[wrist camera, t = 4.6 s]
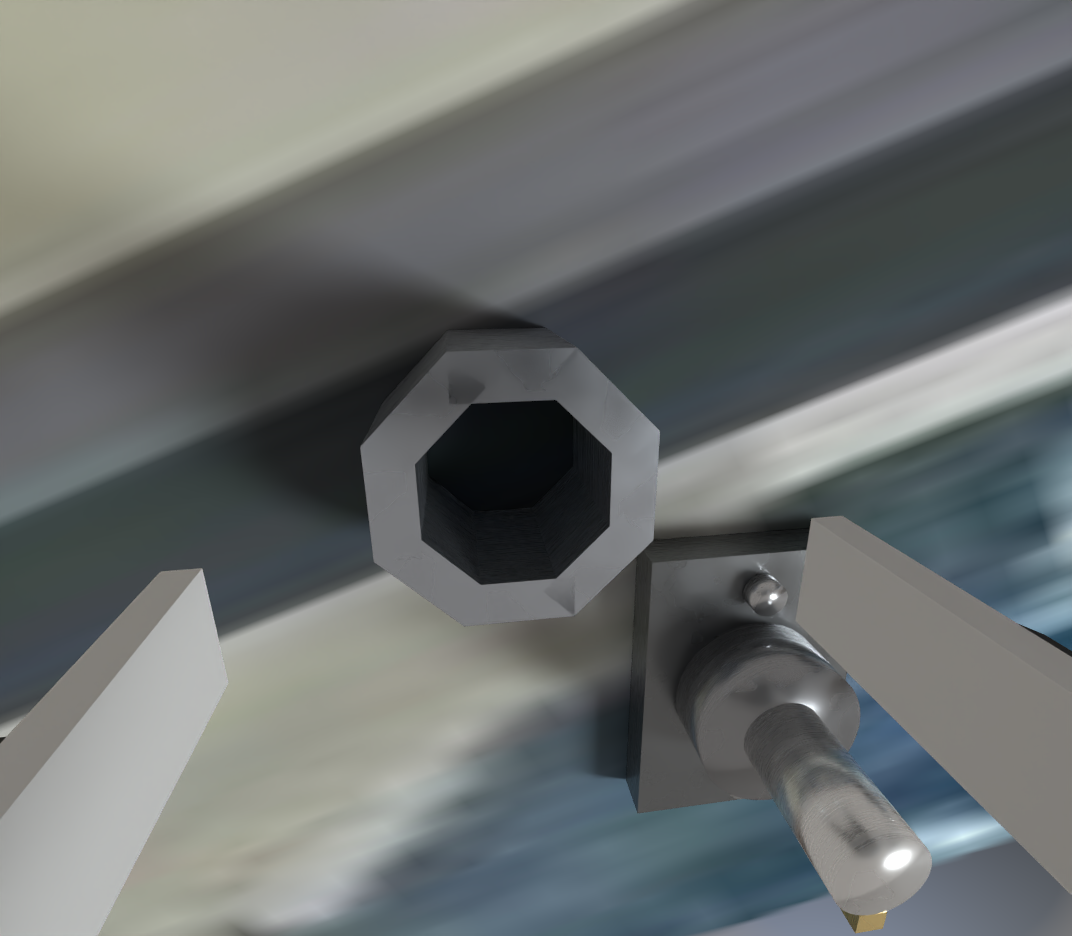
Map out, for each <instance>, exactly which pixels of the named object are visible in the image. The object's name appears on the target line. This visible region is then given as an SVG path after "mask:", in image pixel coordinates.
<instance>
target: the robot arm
mask: <svg viewBox="0 0 1072 936" xmlns="http://www.w3.org/2000/svg"><path fill="white" fill-rule="evenodd" d="M796 622H797V623H798V624H799V625H800V626H801V627H802V628H803V629H804V630H805V631H806V632H807V633H808V634H809V635H810V636H811V637H812V638H813V639H814V640H815V641H816V642H817V643H818V644H819V645H820V646H821V647H822V648H823V649H824V650H825V651H826V652H827V653H828V654H829V655H830V656H831V657H832V658H833V659H834V660H835V661H836V662H837V663H838V664H839V665H840V666H841V667H842V668H843V669H844V670H845V671H846V672H847V673H848V674H849V675H850V676H851V677H852V678H853V679H854V680H855V681H856V682H857V683H858V684H859V685H860V686H861V687H862V688H864V689H865V690H866V691H867V692H868V693H869V694H870V695H871V696H872V697H873V698H874V699H875V700H876V701H877V702H878V703H879V704H880V705H881V706H882V707H883V708H884V709H885V710H886V711H887V712H888V713H889V714H890V715H891V716H892V717H893V718H894V719H895V720H896V721H897V722H898V723H899V724H900V725H901V726H902V727H903V728H904V729H905V730H906V731H907V732H908V733H909V734H910V735H911V736H912V737H913V738H914V739H915V740H916V741H917V742H918V743H919V744H920V745H921V746H922V747H923V748H924V749H925V750H926V751H927V752H928V753H929V754H930V755H931V756H932V757H933V758H934V759H935V760H936V761H937V762H938V763H939V764H940V765H941V766H942V767H943V768H944V769H945V770H946V771H947V772H948V773H949V774H950V775H951V776H952V777H953V778H954V779H955V780H956V781H957V782H958V783H959V784H960V785H961V786H962V787H963V788H964V789H965V790H966V791H967V792H968V793H969V794H970V795H971V796H972V797H973V798H974V799H975V800H976V801H977V802H978V803H979V804H980V805H981V806H982V807H983V808H984V809H985V810H986V811H987V812H988V813H989V814H990V815H991V816H992V817H993V818H994V819H995V820H996V821H997V822H998V823H999V824H1000V825H1001V826H1003V827H1004V828H1005V829H1006V830H1007V831H1008V832H1009V833H1010V834H1011V835H1012V836H1013V837H1014V838H1015V839H1016V840H1017V841H1018V842H1019V843H1020V844H1021V845H1022V846H1023V847H1024V848H1025V849H1026V850H1027V851H1028V852H1029V853H1030V854H1031V855H1032V856H1033V857H1034V858H1035V859H1036V860H1037V861H1038V862H1039V863H1040V864H1041V865H1042V866H1043V867H1044V868H1045V869H1046V870H1047V871H1048V872H1049V873H1050V874H1051V875H1052V876H1053V877H1054V878H1055V879H1056V880H1057V881H1058V882H1059V883H1060V884H1061V885H1062V886H1063V887H1064V888H1065V889H1066V890H1067V891H1068V892H1069V893H1070V894H1071V895H1072V651H1071V650H1069V649H1067V648H1066V647H1064V646H1062V645H1061V644H1059V643H1057V642H1056V641H1054V640H1052V639H1051V638H1049V637H1047V636H1046V635H1044V634H1041V633H1039V632H1037V631H1034V630H1032V629H1029V628H1027V627H1025V626H1022V625H1020V624H1017V623H1015V622H1014V621H1012V620H1011V619H1009V618H1007V617H1006V616H1004V615H1002V614H1001V613H999V612H998V611H996V610H994V609H993V608H991V607H989V606H988V605H986V604H985V603H983V602H981V601H980V600H978V599H976V598H975V597H973V596H971V595H970V594H968V593H967V592H965V591H963V590H962V589H960V588H958V587H957V586H955V585H954V584H952V583H950V582H949V581H947V580H945V579H944V578H942V577H941V576H939V575H937V574H936V573H934V572H932V571H931V570H929V569H928V568H926V567H924V566H923V565H921V564H919V563H918V562H916V561H915V560H913V559H911V558H910V557H908V556H906V555H905V554H903V553H902V552H900V551H898V550H897V549H895V548H893V547H892V546H890V545H889V544H887V543H885V542H884V541H882V540H880V539H879V538H877V537H876V536H874V535H872V534H871V533H869V532H867V531H866V530H864V529H862V528H861V527H859V526H858V525H856V524H854V523H853V522H851V521H849V520H848V519H846V518H845V517H843V516H833V517H821V518H811V524H810V531H809V537H808V544H807V550H806V556H805V563H804V569H803V576H802V582H801V589H800V595H799V602H798V608H797V614H796ZM227 685H228V678H227V674H226V670H225V665H224V661H223V657H222V652H221V648H220V644H219V639H218V635H217V631H216V626H215V622H214V618H213V613H212V609H211V604H210V600H209V596H208V591H207V587H206V583H205V578H204V574H203V570H202V568H200V569H188V570H176V571H164V572H160V573H159V574H158V575H157V576H156V577H155V578H154V579H153V580H152V581H151V583H150V584H149V585H148V586H147V587H146V588H145V589H144V590H143V591H142V592H141V593H140V594H139V595H138V596H137V598H136V599H135V600H134V601H133V602H132V603H131V604H130V605H129V606H128V607H127V608H126V609H125V610H124V611H123V613H122V614H121V615H120V616H119V617H118V618H117V619H116V620H115V621H114V622H113V623H112V624H111V625H110V626H109V628H108V629H107V630H106V631H105V632H104V633H103V634H102V635H101V636H100V637H99V638H98V639H97V640H96V641H95V643H94V644H93V645H92V646H91V647H90V648H89V649H88V650H87V651H86V652H85V653H84V654H83V655H82V656H81V658H80V659H79V660H78V661H77V662H76V663H75V664H74V665H73V666H72V667H71V668H70V669H69V670H68V671H67V673H66V674H65V675H64V676H63V677H62V678H61V679H60V680H59V681H58V682H57V683H56V684H55V685H54V686H53V688H52V689H51V690H50V691H49V692H48V693H47V694H46V695H45V696H44V697H43V698H42V699H41V700H40V701H39V703H38V704H37V705H36V706H35V707H34V708H33V709H32V710H31V711H30V712H29V713H28V714H27V715H26V716H25V718H24V719H23V720H22V721H21V722H20V723H19V724H18V725H17V726H16V727H15V728H14V729H13V730H12V731H11V733H10V734H9V735H8V736H7V737H1V738H0V936H98V934H99V932H100V930H101V928H102V926H103V924H104V922H105V920H106V918H107V916H108V914H109V912H110V910H111V909H112V907H113V905H114V903H115V901H116V899H117V897H118V895H119V893H120V891H121V889H122V887H123V885H124V883H125V882H126V880H127V878H128V876H129V874H130V872H131V870H132V868H133V866H134V864H135V862H136V860H137V858H138V856H139V854H140V853H141V851H142V849H143V847H144V845H145V843H146V841H147V839H148V837H149V835H150V833H151V831H152V829H153V827H154V825H155V824H156V822H157V820H158V818H159V816H160V814H161V812H162V810H163V808H164V806H165V804H166V802H167V800H168V798H169V797H170V795H171V793H172V791H173V789H174V787H175V785H176V783H177V781H178V779H179V777H180V775H181V773H182V771H183V769H184V768H185V766H186V764H187V762H188V760H189V758H190V756H191V754H192V752H193V750H194V748H195V746H196V744H197V742H198V741H199V739H200V737H201V735H202V733H203V731H204V729H205V727H206V725H207V723H208V721H209V719H210V717H211V715H212V713H213V712H214V710H215V708H216V706H217V704H218V702H219V700H220V698H221V696H222V694H223V692H224V690H225V688H226V686H227Z"/></svg>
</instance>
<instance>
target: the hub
mask: <svg viewBox="0 0 1072 936" xmlns="http://www.w3.org/2000/svg"><path fill="white" fill-rule="evenodd" d="M540 400H557V401H558V402H559V403H560V404H561V405H562V406H563V407H564V408H565V409H566V410H567V411H568V412H569V413H570V414H571V415H572V416H573V467H572V468H571V469H570V470H569V471H568V472H567V473H566V474H565V475H564V476H563V477H562V478H561V479H560V480H559V481H558V482H557V483H556V484H555V485H554V486H553V487H552V488H551V489H550V490H549V491H548V492H547V493H546V494H545V495H544V496H543V497H542V498H541V499H540V500H539V501H538V502H537V503H536V504H535V505H534V506H533V507H532V508H520V509H506V510H491V511H477V512H474V511H472V510H471V509H470V508H469V507H467V506H466V505H465V504H464V503H462V502H461V501H460V500H459V499H457V498H456V497H455V496H454V495H452V494H451V493H450V492H449V491H447V490H446V489H445V488H444V487H443V486H441V485H440V484H439V483H438V482H436V481H435V480H434V479H433V478H431V477H430V476H429V475H428V464H427V451H428V450H429V449H430V447H431V446H432V445H433V444H434V443H435V442H436V441H437V440H438V439H439V438H440V437H441V436H442V435H443V434H444V432H445V431H446V430H447V429H448V428H449V427H450V426H451V425H452V424H453V423H454V422H455V421H456V420H457V418H458V417H459V416H460V415H461V414H462V413H463V412H464V411H465V410H466V409H467V408H468V407H469V406H470V404H473V403H495V402H517V401H540ZM659 438H660V431H659V430H658V429H657V428H656V427H655V426H654V425H653V424H652V423H651V422H650V421H649V420H648V419H647V418H646V417H645V416H644V415H643V414H642V413H641V412H640V411H639V410H638V409H637V408H636V407H635V406H634V405H633V404H632V403H631V402H630V401H629V400H628V399H627V398H626V397H625V396H624V395H623V394H622V393H621V392H620V390H619V389H618V388H617V387H616V386H615V385H614V384H613V383H612V382H611V381H610V380H609V379H608V378H607V377H606V376H605V375H604V374H603V373H602V372H601V371H600V370H599V369H598V368H597V367H596V366H595V365H594V364H593V363H592V362H591V361H590V360H589V359H588V358H587V357H586V356H585V355H584V354H583V353H582V352H581V351H580V350H579V349H578V348H577V347H575V346H574V345H572V344H571V343H569V342H567V341H566V340H564V339H563V338H561V337H559V336H558V335H556V334H555V333H553V332H552V331H550V330H548V329H547V328H545V327H544V328H509V329H474V330H447V331H446V332H445V333H444V335H443V336H442V337H441V338H440V339H439V340H438V341H437V342H436V343H435V345H434V346H433V347H432V348H431V349H430V350H429V351H428V352H427V353H426V355H425V356H424V357H423V358H422V359H421V360H420V361H419V362H418V363H417V365H416V366H415V367H414V368H413V369H412V370H411V371H410V372H409V373H408V375H407V376H406V377H405V378H404V379H403V380H402V381H401V382H400V383H399V385H398V386H397V387H396V388H395V389H394V390H393V391H392V392H391V394H390V395H389V396H388V397H387V398H386V399H385V400H384V401H383V403H382V405H381V407H380V409H379V411H378V413H377V415H376V417H375V419H374V421H373V423H372V424H371V426H370V428H369V430H368V432H367V434H366V436H365V438H364V440H363V442H362V444H361V446H360V449H361V458H362V466H363V474H364V483H365V491H366V499H367V508H368V516H369V524H370V533H371V541H372V549H373V558H374V562H375V563H376V564H378V565H379V566H380V567H382V568H383V569H385V570H386V571H387V572H389V573H390V574H392V575H393V576H394V577H396V578H397V579H399V580H400V581H401V582H403V583H404V584H406V585H407V586H408V587H410V588H411V589H413V590H414V591H415V592H417V593H418V594H420V595H421V596H422V597H424V598H425V599H427V600H428V601H429V602H431V603H432V604H434V605H435V606H436V607H438V608H439V609H441V610H442V611H443V612H445V613H446V614H448V615H449V616H450V617H452V618H453V619H455V620H456V621H457V622H459V623H460V624H462V625H463V626H472V625H483V624H494V623H505V622H515V621H526V620H537V619H547V618H558V617H569V616H575V615H576V614H577V613H578V612H579V611H580V610H581V609H582V608H583V607H584V606H585V605H586V604H587V603H589V602H590V601H591V600H592V599H593V598H594V597H595V596H596V595H597V594H598V593H599V592H600V591H601V590H602V589H603V588H604V587H605V586H606V585H607V584H608V583H609V582H610V581H611V580H612V579H614V578H615V577H616V576H617V575H618V574H619V573H620V572H621V571H622V570H623V569H624V568H625V567H626V566H627V565H628V564H629V563H630V562H631V561H632V560H633V559H634V558H635V557H636V556H637V555H639V554H640V553H641V552H642V551H643V550H644V549H645V548H646V547H647V546H648V545H649V544H650V543H651V542H652V541H653V539H654V522H655V506H656V489H657V472H658V455H659Z"/></svg>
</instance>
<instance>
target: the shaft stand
mask: <svg viewBox="0 0 1072 936" xmlns="http://www.w3.org/2000/svg"><path fill="white" fill-rule="evenodd" d="M809 531H810V528H805V529H792V530H780V531H767V532H754V533H741V534H728V535H715V536H702V537H690V538H677V539H664V540H653V541H652V542H651V543H650V544H649V545H648V546H647V547H646V548H645V549H644V550H643V551H642V552H641V553H640V554H639V555H637V569H636V589H635V609H634V630H633V650H632V670H631V690H630V711H629V731H628V751H627V772H626V781H627V784H628V787H629V790H630V793H631V796H632V799H633V801H634V804H635V807H636V810H637V813H644V812H651V811H658V810H665V809H672V808H679V807H687V806H694V805H701V804H708V803H715V802H722V801H729V800H737V799H751V800H768V799H773V800H774V802H775V803H776V805H777V807H778V808H779V810H780V812H781V813H782V815H783V817H784V818H785V820H786V821H787V823H788V825H789V826H790V828H791V830H792V831H793V833H794V835H795V836H796V838H797V840H798V841H799V843H800V845H801V846H802V848H803V849H804V851H805V853H806V854H807V856H808V858H809V859H810V861H811V863H812V864H813V866H814V868H815V869H816V871H817V873H818V874H819V876H820V877H821V879H822V881H823V882H824V884H825V886H826V887H827V889H828V891H829V892H830V894H831V896H832V897H833V899H834V900H835V902H836V904H837V905H838V906H839V907H840V909H841V910H842V912H843V914H844V915H845V917H846V919H847V920H848V922H849V924H850V925H851V927H852V929H853V930H854V932H855V933H860V932H866V931H871V930H877V929H882V928H883V925H884V922H885V918H886V914H887V911H888V910H890V909H892V908H894V907H896V906H898V905H900V904H902V903H904V902H905V901H906V900H908V899H909V898H910V897H912V896H913V895H914V894H915V893H916V892H917V891H918V890H919V889H920V888H921V887H922V885H923V884H924V883H925V881H926V880H927V878H928V876H929V873H930V871H931V866H932V858H931V854H930V852H929V850H928V849H927V848H926V846H925V845H924V844H923V843H922V842H921V840H920V839H919V838H918V837H917V835H916V834H915V833H914V832H913V831H912V829H911V828H910V827H909V826H908V824H907V823H906V822H905V821H904V820H903V818H902V817H901V816H900V815H899V814H898V812H897V811H896V810H895V809H894V807H893V806H892V805H891V804H890V803H889V801H888V800H887V799H886V798H885V796H884V795H883V794H882V793H881V792H880V790H879V789H878V788H877V787H876V785H875V784H874V783H873V782H872V781H871V779H870V778H869V777H868V776H867V775H866V773H865V772H864V771H863V770H862V768H861V767H860V766H859V765H858V764H857V762H856V761H855V760H854V759H853V757H852V756H851V755H850V754H849V753H848V751H849V749H850V747H851V746H852V744H853V742H854V740H855V737H856V735H857V731H858V728H859V723H860V707H859V702H858V699H857V696H856V694H855V692H854V690H853V689H852V687H851V686H850V685H849V684H848V683H847V682H846V681H845V679H846V674H847V672H846V671H845V670H844V669H843V668H842V667H841V666H840V665H839V664H838V663H837V662H836V661H835V660H834V659H833V658H832V657H831V656H830V655H829V654H828V653H827V652H826V651H825V650H824V649H823V648H822V647H821V646H820V645H819V644H818V643H817V642H816V641H815V640H814V639H813V638H812V637H811V636H810V635H809V634H808V633H807V632H806V631H805V630H804V629H803V628H802V627H801V626H800V625H799V624H798V623H797V622H796V614H797V608H798V602H799V595H800V589H801V582H802V576H803V569H804V563H805V556H806V550H807V544H808V537H809Z"/></svg>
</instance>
